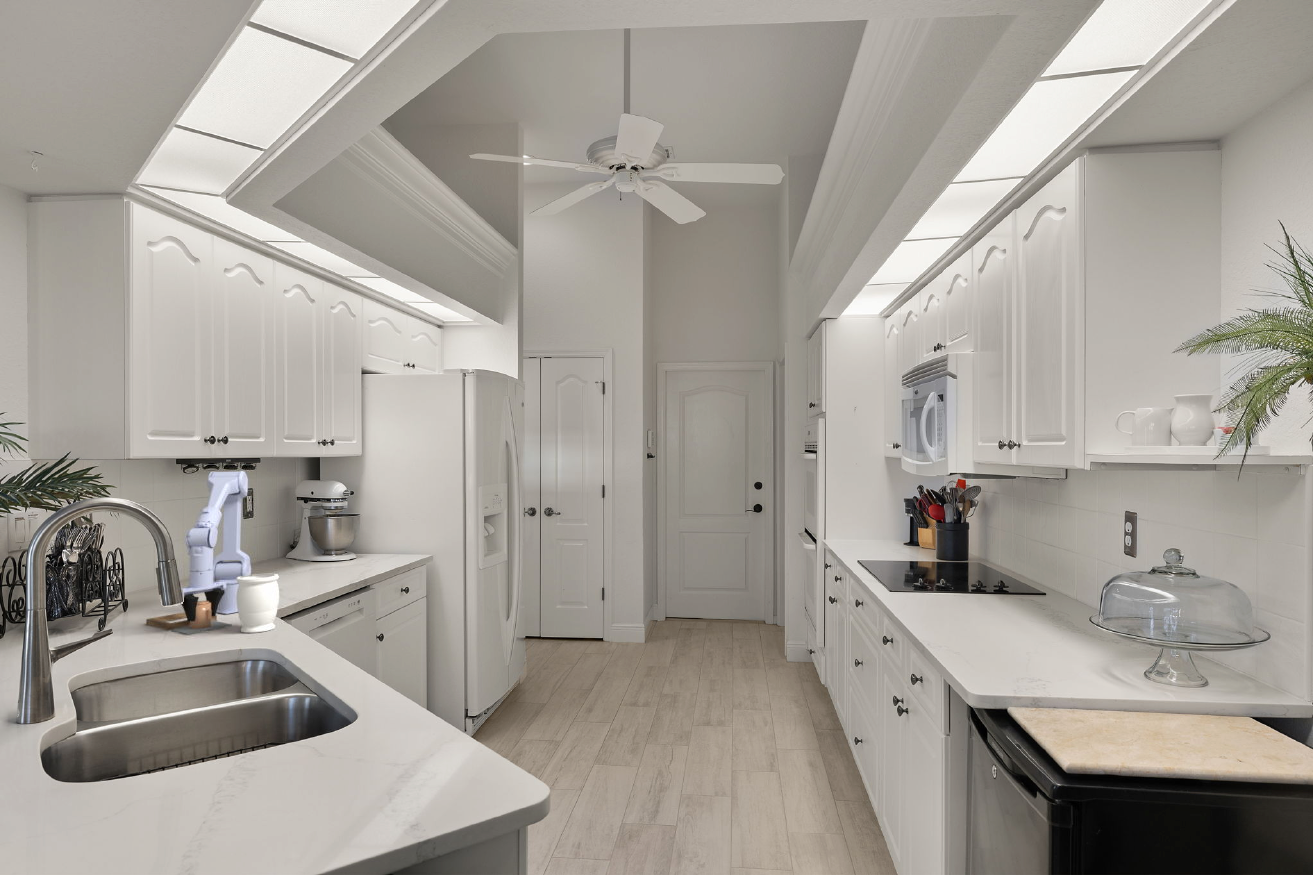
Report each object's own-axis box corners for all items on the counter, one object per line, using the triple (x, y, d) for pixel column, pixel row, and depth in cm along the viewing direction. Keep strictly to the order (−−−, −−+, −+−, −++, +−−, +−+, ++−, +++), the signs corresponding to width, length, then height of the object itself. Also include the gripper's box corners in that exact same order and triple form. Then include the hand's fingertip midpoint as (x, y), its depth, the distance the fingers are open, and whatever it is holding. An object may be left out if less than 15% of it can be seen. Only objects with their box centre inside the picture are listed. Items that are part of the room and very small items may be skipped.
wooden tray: (193, 615, 225) (193, 610, 225) (216, 620, 219) (216, 615, 219) (146, 624, 214) (146, 618, 214) (168, 629, 208) (168, 624, 208)
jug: (185, 628, 207) (185, 603, 207) (202, 624, 212) (202, 599, 212) (202, 629, 205) (201, 604, 205) (217, 625, 210) (217, 601, 210)
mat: (215, 622, 216) (215, 620, 216) (231, 625, 212) (231, 624, 212) (170, 631, 206) (170, 629, 206) (187, 634, 201) (187, 633, 201)
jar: (227, 633, 203) (227, 578, 203) (257, 624, 213) (257, 572, 213) (258, 635, 200) (258, 579, 200) (287, 626, 210) (287, 573, 210)
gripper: (213, 565, 217) (213, 612, 217) (166, 573, 203) (166, 623, 203) (231, 566, 215) (231, 613, 215) (186, 574, 201) (186, 624, 201)
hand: (201, 618), depth 209 cm, fingers open, 6 cm apart
